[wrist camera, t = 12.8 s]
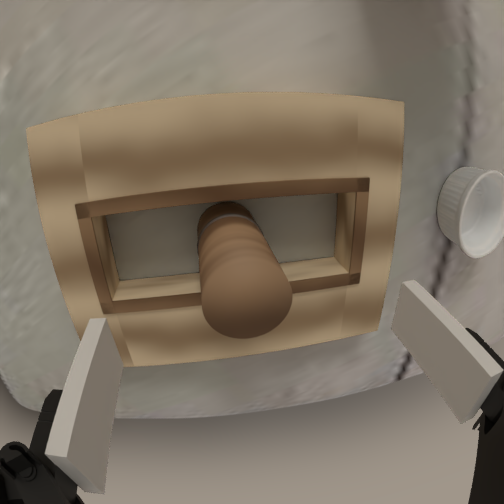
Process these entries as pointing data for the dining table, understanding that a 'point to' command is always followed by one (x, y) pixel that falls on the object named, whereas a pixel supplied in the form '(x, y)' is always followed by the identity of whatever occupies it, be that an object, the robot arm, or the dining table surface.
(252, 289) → the peg
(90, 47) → the dining table surface
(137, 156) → the seat board
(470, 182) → the ramekin
